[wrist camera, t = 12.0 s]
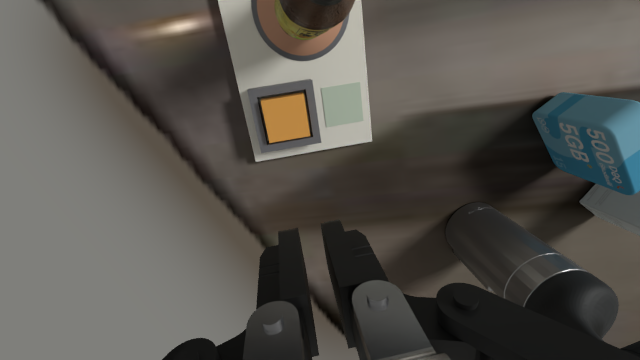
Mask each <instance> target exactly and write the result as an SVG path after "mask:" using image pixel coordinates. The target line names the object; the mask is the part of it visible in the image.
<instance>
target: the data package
mask: <svg viewBox="0 0 640 360" xmlns="http://www.w3.org/2000/svg"><path fill="white" fill-rule="evenodd" d="M532 118H533V120H534V122H535V124H536V127H537V129H538V131H539V133H540V135H541V137H542V139H543V141H544V143H545V146H546V148H547V150H548V152H549V154H550V156H551V158H552V160H553V162H554V164H555V165H556V166H557V167H558V168H559V169H561V170H563V171H565V172H567V173H570V174H573V175H575V176H578V177H580V178H583V179H586V180H588V181H591V182H593V183H596V184H598V185H601V186H604V187H606V188H609V189H611V190H614V191H617V192H619V193H622V194H625V195H634V194H636V193H637V192H639V191H640V103H639V102H637V101H633V100H626V99H617V98H608V97H600V96H591V95H582V94H574V93H565V92H562V93H559V94H557V95H556V96H555V97H553V98H552V99H551V100H549V101H548V102H547V103H545V104H544V105H543V106H541V107H540V108H539V109H537V110H536V111H535V112H534V113H533V114H532Z"/></svg>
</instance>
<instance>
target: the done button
mask: <svg viewBox="0 0 640 360" xmlns="http://www.w3.org/2000/svg"><path fill="white" fill-rule="evenodd" d="M261 105H262V110H263V115H264V119H265V124H266V129H267V134H268V138H269V143H273V142H279V141H285V140H290V139H296V138H302V137H308V136H310V130H309V124H308V118H307V111H306V105H305V99H304V94H303V93H302V92H301V93H295V94H289V95H282V96H276V97H270V98H264V99H261Z"/></svg>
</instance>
